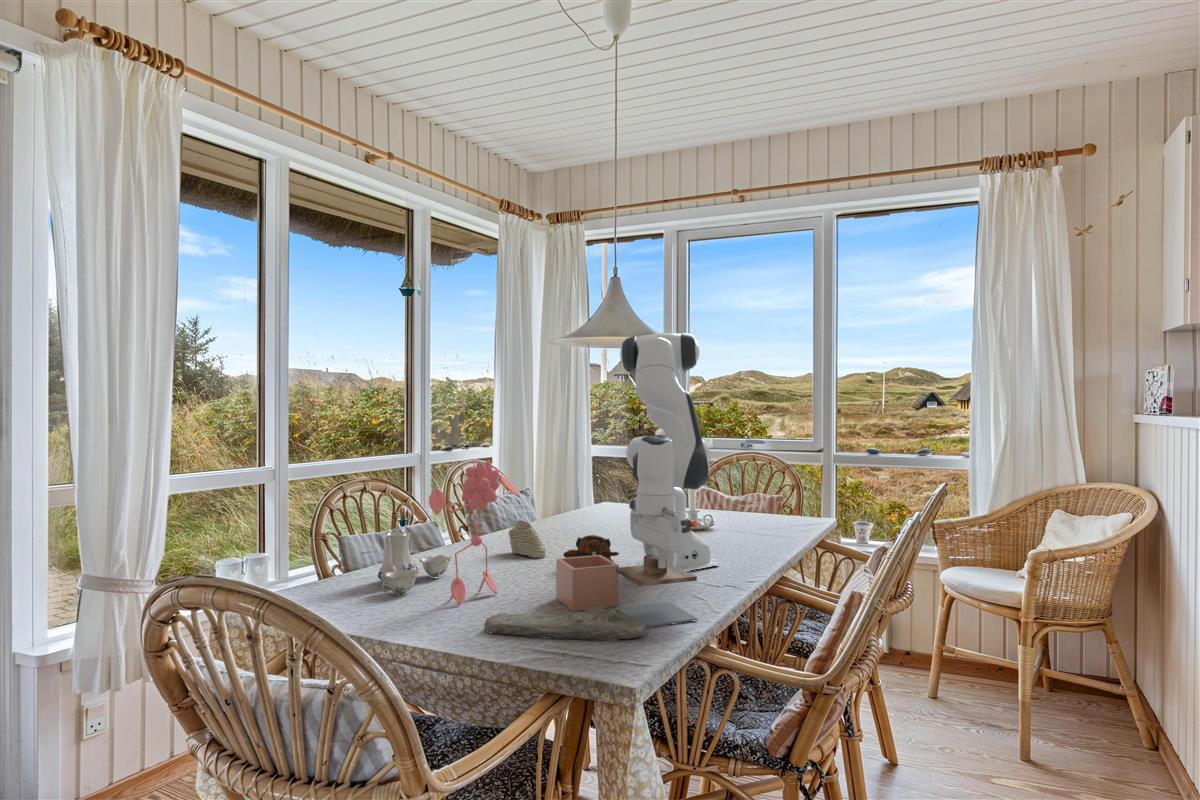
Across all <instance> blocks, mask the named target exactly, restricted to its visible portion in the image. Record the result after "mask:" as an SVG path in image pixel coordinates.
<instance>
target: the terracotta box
mask: <svg viewBox="0 0 1200 800" xmlns="http://www.w3.org/2000/svg"><path fill="white" fill-rule="evenodd" d="M613 561H614V560H613ZM613 561H611V560H609V559H607V558H605V557H603V556H602V555H592V556H581V557H570V558H565V557H562V558H561V557H560V558H556V559H555V562H556V565H555V566H556V567H555V569H556V570H555V571H556V574H555V577H556V579H555V581H556V585H555V592H556V593H555V596H556V597H555V599H556V598H557V600H558V601H559V602H560V603H561V602H562V603H563V604H562V605H564V606H565V607H566V606H567V607H568V608H569V609H568V608H567V607H566V608H567V609H568V610H570V611H571V612H572V611H575V612H582V611H581V610H583V611H587V610H590V609H592V608H596V607H598V606H601V607H602V606H604V608H605V609H606V608H607V607H608V608H614V607H613V606H616V607H619V606H620V574H618V573H616V568H619V567H620V565H619V564H618V563H616V562H615V561H614V562H613ZM608 608H607V609H608Z"/></svg>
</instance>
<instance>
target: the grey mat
mask: <svg viewBox="0 0 1200 800" xmlns="http://www.w3.org/2000/svg"><path fill="white" fill-rule="evenodd" d="M615 609H616V610H617V611H616V612H617V613H618V612H620V613H625V614H626V615H628V616H629V617H631V618H634V619H636V620H639V621H641V622H643V623H644V625H645V629H647V628H646V627H650V628H655V627H654V626H657V627H661V626H660V625H665V626H667V625H666V624H672V623H679V622H685V621H692V620H697V621H698V617H696V616H694V615H692V614H691V613H689V612H687V611H685V610H684V609H682V608H680V607H679V606H677V605H676V604H673V603H672V602H669V601H665V602H656V603H648V604H639V605H630V606H623V607H622V606H621V607H616V608H615ZM679 624H680V623H679ZM672 625H673V624H672Z"/></svg>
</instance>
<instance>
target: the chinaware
mask: <svg viewBox="0 0 1200 800" xmlns="http://www.w3.org/2000/svg"><path fill="white" fill-rule="evenodd" d="M385 536H386V538H384V542H385V549H384V554H383V559H382V562H381V566H380V568H379V570H378V573H377V578H378V579H379V580H380V581H381V582H382V583H381V589H382V591H383V593H389V592H390V594H392V595H396V594H398V595H399V596H401V595H400V594H406V593H407V592H408V591H410V590H412V588H413V587H414V585H415V584H416V579H417V577H418V576H419V568H418V566H417V565H416V563H415V562H414V560H413V558H412V556H411V553H412V551H413V548H414V538H413V536H412V534H411V532H409V531H407V532H406V531H405V529H404V528H402V526H401V525H400V523H397V524H396V526H395V528H393V529H392V530H391V532H388V533H386V534H385ZM452 558H453V557H452V556H445V555H443V554H438V555H435V556H429V555H428V556H424V557H422V559H419V563H421V564H422V567H423V570H424V572H425V573H426V574H428V575H429V576H432V577H439V575H441V576H442V575H443V574H444V573H446V571H447V570H448V568H449V564H450V562H451V560H452ZM386 586H387V588H390V589H389V590H387V591H385V589H384V587H386ZM398 595H397V596H398ZM406 595H407V594H406Z"/></svg>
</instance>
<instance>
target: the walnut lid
mask: <svg viewBox="0 0 1200 800" xmlns="http://www.w3.org/2000/svg"><path fill="white" fill-rule="evenodd" d="M658 556H659V555H648V556H646V555H643V564H642V565H633V566H632V565H630V566H621V567H620V566H619V568H616V573H618V574H619V576H621V577H623V578H625V579H627V580H628V581H630V582H632V583H634V584H636V585H637V586H639V587H640V588H641V587H650V586H658V585H668V584H669V585H670V584H671V585H672V584H678V583H679V584H681V583H688V582H697V581H698V579H697V578H698V577H697V575H695V574H692V573H690V572H689V571H688V572H686V571H684V570H682V569H680V568H678V567H676V566H673V565H671V564H669V563H667V559H666V567H665V568H661V569H660V568H658V567H657V566H656V560H657V559H658Z"/></svg>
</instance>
